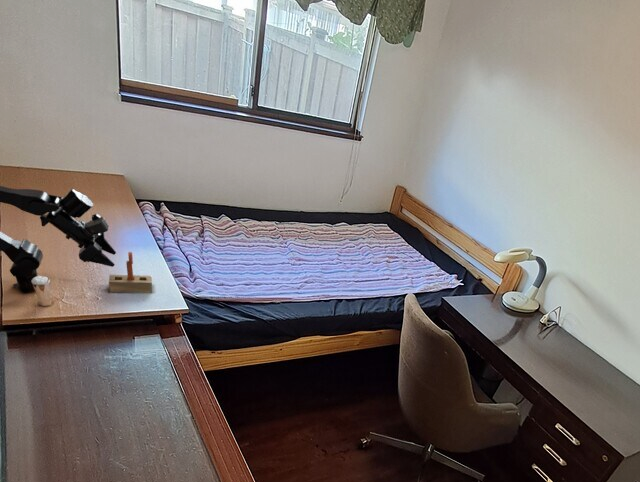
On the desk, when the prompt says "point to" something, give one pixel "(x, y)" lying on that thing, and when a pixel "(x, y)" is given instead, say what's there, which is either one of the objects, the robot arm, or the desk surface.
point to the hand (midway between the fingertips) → (114, 259)
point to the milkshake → (42, 290)
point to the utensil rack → (130, 284)
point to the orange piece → (130, 266)
